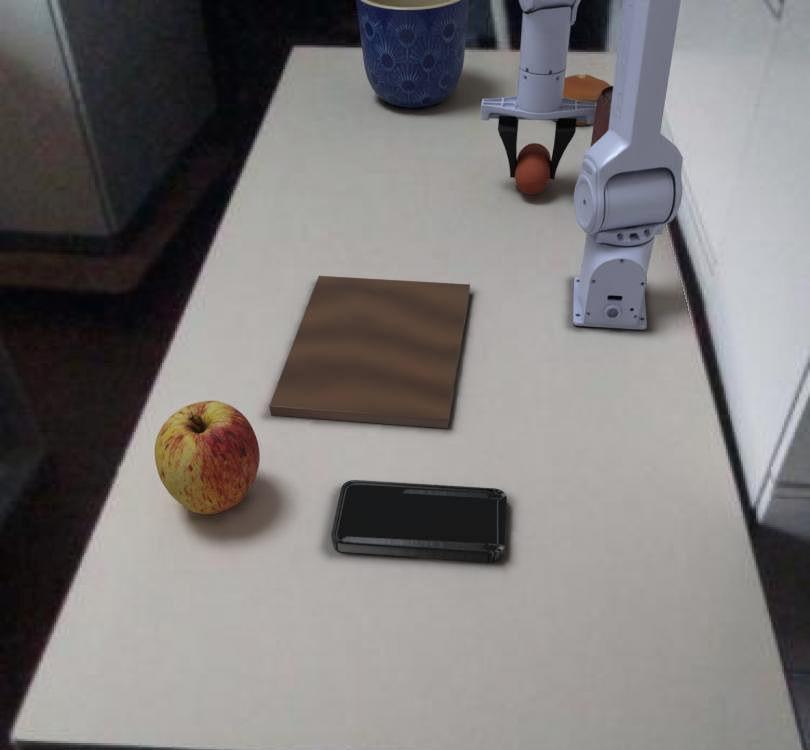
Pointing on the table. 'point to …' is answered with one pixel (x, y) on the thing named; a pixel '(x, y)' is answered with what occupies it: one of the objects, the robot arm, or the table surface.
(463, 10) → the planter
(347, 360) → the board
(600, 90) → the burger
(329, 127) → the table surface
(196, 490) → the apple
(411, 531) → the phone
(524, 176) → the sweet potato
